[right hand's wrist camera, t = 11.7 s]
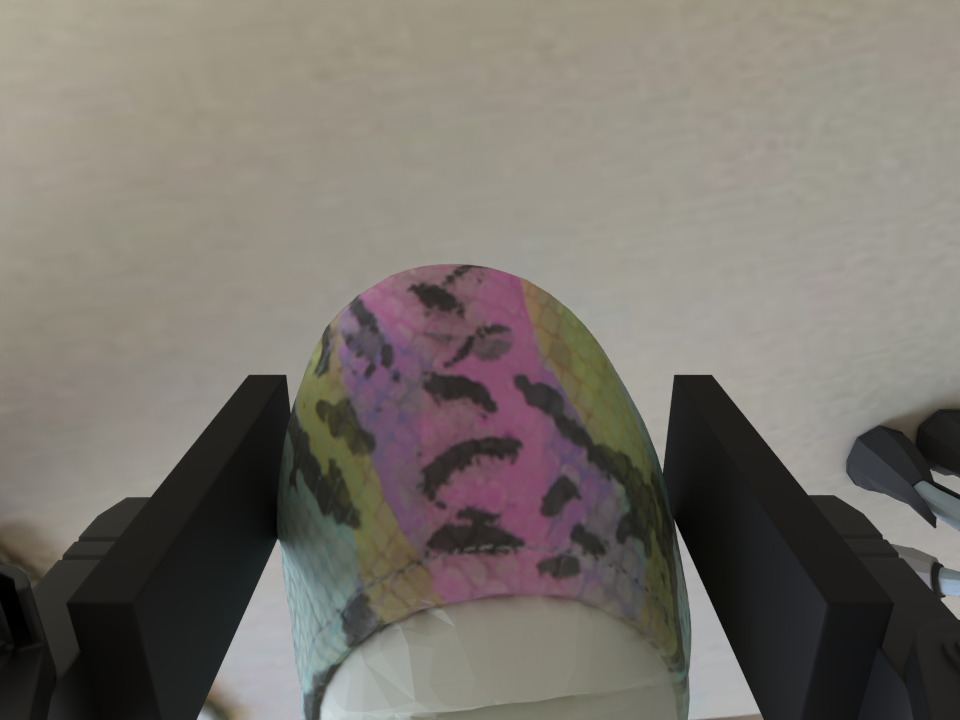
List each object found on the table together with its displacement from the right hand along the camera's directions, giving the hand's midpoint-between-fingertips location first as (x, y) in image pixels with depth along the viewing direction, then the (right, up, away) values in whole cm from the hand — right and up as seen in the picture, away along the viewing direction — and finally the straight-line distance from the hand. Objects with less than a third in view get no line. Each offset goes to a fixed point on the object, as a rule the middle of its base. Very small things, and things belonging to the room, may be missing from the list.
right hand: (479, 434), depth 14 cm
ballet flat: (0, -7, +4) cm, 8 cm away
